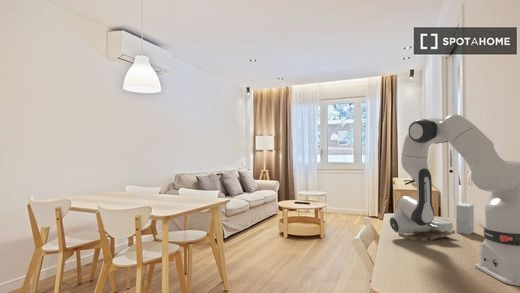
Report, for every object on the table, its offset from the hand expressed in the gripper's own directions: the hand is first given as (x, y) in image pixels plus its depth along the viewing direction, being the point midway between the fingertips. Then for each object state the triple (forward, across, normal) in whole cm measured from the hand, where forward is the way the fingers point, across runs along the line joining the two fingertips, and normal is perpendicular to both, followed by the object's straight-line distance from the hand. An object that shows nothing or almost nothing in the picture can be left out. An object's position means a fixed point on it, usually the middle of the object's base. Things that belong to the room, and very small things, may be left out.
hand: (445, 221), depth 155 cm
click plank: (-14, 0, +7) cm, 16 cm away
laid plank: (-19, 0, +7) cm, 20 cm away
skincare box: (+15, +3, +7) cm, 17 cm away
